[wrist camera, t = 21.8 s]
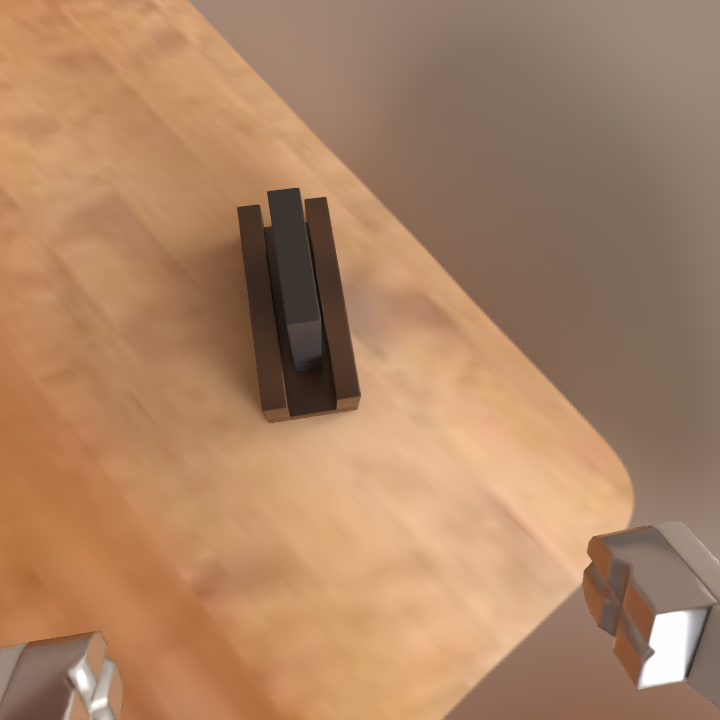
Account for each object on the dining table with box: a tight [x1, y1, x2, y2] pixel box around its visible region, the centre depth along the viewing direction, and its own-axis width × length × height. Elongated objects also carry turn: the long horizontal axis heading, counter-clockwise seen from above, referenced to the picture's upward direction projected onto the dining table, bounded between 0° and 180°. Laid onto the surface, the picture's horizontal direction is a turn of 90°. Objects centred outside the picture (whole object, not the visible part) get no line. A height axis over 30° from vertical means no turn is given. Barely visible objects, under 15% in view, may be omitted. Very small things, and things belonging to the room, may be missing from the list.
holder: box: [237, 197, 361, 423], centre depth 38 cm, size 14×6×4 cm, turn 10°
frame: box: [267, 188, 322, 371], centre depth 35 cm, size 8×2×9 cm, turn 10°
